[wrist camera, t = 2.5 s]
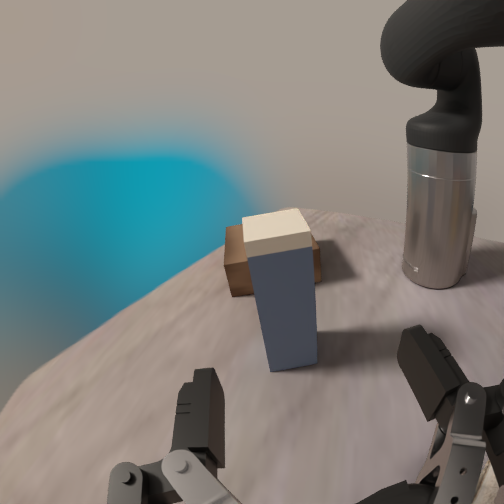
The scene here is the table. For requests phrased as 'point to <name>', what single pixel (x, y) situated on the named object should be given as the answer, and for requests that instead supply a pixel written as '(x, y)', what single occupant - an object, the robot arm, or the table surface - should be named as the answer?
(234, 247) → the display plinth
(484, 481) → the washcloth
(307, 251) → the carton
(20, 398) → the table surface
